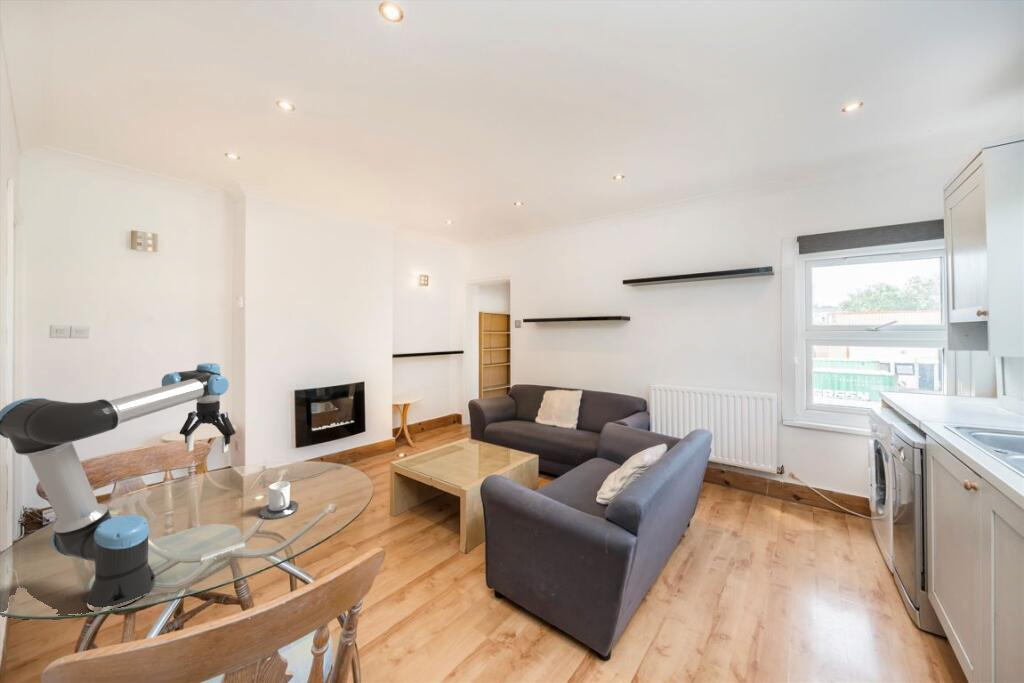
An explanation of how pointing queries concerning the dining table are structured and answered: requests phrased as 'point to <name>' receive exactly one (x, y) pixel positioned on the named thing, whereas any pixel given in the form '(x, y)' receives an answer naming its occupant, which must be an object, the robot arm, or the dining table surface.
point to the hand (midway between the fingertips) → (207, 451)
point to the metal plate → (283, 513)
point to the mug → (279, 496)
